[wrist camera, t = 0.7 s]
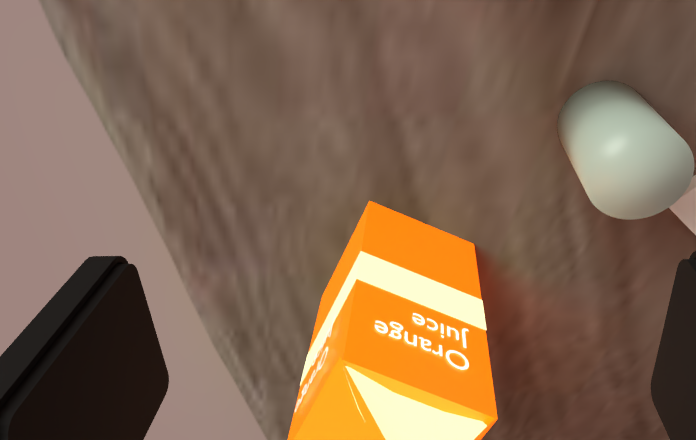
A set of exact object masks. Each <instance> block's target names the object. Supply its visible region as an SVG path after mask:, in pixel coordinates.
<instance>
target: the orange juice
mask: <svg viewBox="0 0 696 440" xmlns="http://www.w3.org/2000/svg"><path fill="white" fill-rule="evenodd" d="M486 330H487V329H486V322H485V314H484V307H483V300H481V292H480V285H479V278H478V270H477V263H476V255H475V248H474V244H473V243H470V242H468V241H465V240H463V239H461V238H458V237H456V236H453V235H451V234H449V233H446V232H444V231H441V230H439V229H436V228H434V227H432V226H429V225H427V224H424V223H422V222H420V221H417V220H415V219H412V218H410V217H408V216H405V215H403V214H400V213H398V212H395V211H393V210H391V209H388V208H386V207H383V206H381V205H379V204H376V203H374V202H371V201H369V203H368V205H367V207H366V209H365V211H364V213H363V215H362V217H361V219H360V221H359V223H358V225H357V227H356V229H355V231H354V233H353V235H352V237H351V239H350V241H349V243H348V245H347V247H346V249H345V251H344V253H343V255H342V257H341V259H340V261H339V263H338V265H337V268H336V270H335V272H334V274H333V276H332V278H331V280H330V282H329V284H328V286H327V288H326V290H325V292H324V294H323V296H322V299H321V303H320V307H319V311H318V315H317V320H316V324H315V328H314V332H313V336H312V340H311V345H310V349H309V353H308V355H307V358H306V362H305V366H304V371H303V375H302V379H301V383H300V390H299V394H298V399H297V403H296V407H295V411H294V415H293V419H292V423H291V428H290V432H289V436H288V440H481V439H482V437H483V436H484V435H485V434H486V433H487V431H488V430H489V429H490V428H491V427H492V425H493V424H494V423H495V422H496V420H497V419H498V418H497V411H496V403H495V396H494V388H493V381H492V374H491V366H490V359H489V351H488V344H487V337H486Z"/></svg>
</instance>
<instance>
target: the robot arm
mask: <svg viewBox="0 0 696 440" xmlns="http://www.w3.org/2000/svg"><path fill="white" fill-rule="evenodd" d="M168 382H169V376H168V371H167V368H166V365H165V361H164V358H163V355H162V351H161V348H160V344H159V341H158V338H157V334H156V331H155V328H154V324H153V321H152V318H151V314H150V311H149V308H148V304H147V301H146V297H145V294H144V291H143V287H142V284H141V281H140V277H139V274H138V271H137V268H136V267H135V266H134V265H133V264H128V261H127V260H126V259H125V258H124V257H122V256H93V257H89V258H88V259H87V260H85V261H84V263H83V264H82V265H81V266H80V267H79V268H78V270H77V271H76V272H75V273H74V274H73V275H72V276H71V277H70V279H69V280H68V281H67V282H66V283H65V284H64V285H63V286H62V287H61V289H60V290H59V291H58V292H57V293H56V294H55V295H54V297H53V298H52V299H51V300H50V301H49V302H48V303H47V304H46V305H45V307H44V308H43V309H42V310H41V311H40V312H39V313H38V315H37V316H36V317H35V318H34V319H33V320H32V321H31V322H30V324H29V325H28V326H27V327H26V328H25V329H24V330H23V332H22V333H21V334H20V335H19V336H18V337H17V338H16V339H15V340H14V342H13V343H12V344H11V345H10V346H9V347H8V348H7V349H6V351H5V352H4V353H3V354H2V355H1V356H0V440H143V439H144V437H145V435H146V433H147V431H148V429H149V427H150V425H151V423H152V421H153V419H154V417H155V415H156V413H157V411H158V409H159V407H160V405H161V403H162V401H163V399H164V397H165V395H166V392H167V389H168ZM651 394H652V399H653V402H654V405H655V407H656V409H657V412H658V414H659V416H660V418H661V420H662V423H663V425H664V427H665V429H666V431H667V433H668V436H669V438H670V440H696V251H695V252H693V253H692V255H691V256H690V258H689V259H683V260H681V261H680V263H679V265H678V268H677V272H676V276H675V281H674V285H673V289H672V294H671V298H670V302H669V307H668V311H667V315H666V320H665V324H664V328H663V333H662V337H661V341H660V346H659V350H658V354H657V359H656V363H655V367H654V372H653V376H652V380H651Z"/></svg>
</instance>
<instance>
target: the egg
mask: <svg viewBox="0 0 696 440" xmlns="http://www.w3.org/2000/svg"><path fill="white" fill-rule="evenodd" d="M557 133H558V137H559V140H560V142H561V144H562V146H563V148H564V150H565V152H566V154H567V156H568V158H569V160H570V162H571V164H572V166H573V167H574V169H575V171H576V173H577V175H578V177H579V179H580V181H581V183H582V185H583V187H584V189H585V191H586V193H587V195H588V197H589V199H590V200H591V202H592V203H593V204H594V206H595V207H596V208H598V209H599V210H600V211H601V212H603V213H605V214H607V215H609V216H611V217H615V218H619V219H628V220H632V219H641V218H646V217H650V216H653V215H655V214H658V213H660V212H662V211H664V210H665V209H667V208H669V207H670V206H671V205H673V204H674V203H675V202H676V201H677V200H678V199H680V197H681V196H682V195H683V194H684V193H685V191H686V190H687V188H688V186H689V184H690V182H691V180H692V177H693V173H694V157H693V154H692V151H691V149H690V147H689V146H688V144H687V143H686V142H685V141H684V140H683V139H682V138H681V137H680V136H679V135H678V133H677V132H676V131H675V130H674V129H673V128H672V127H671V126H670V125H669V124H668V123H667V122H666V121H665V120H664V119H663V118H662V117H661V116H660V115H659V114H658V113H657V112H656V111H655V110H654V109H653V108H652V107H651V106H650V105H649V104H648V103H647V102H646V101H645V100H644V99H643V98H642V97H641V96H640V95H639V94H638V93H637V92H636V91H635V90H634V89H633V88H632V87H630V86H628V85H626V84H624V83H621V82H616V81H600V82H595V83H592V84H589V85H587V86H585V87H583V88H581V89H580V90H578V91H577V92H575V93H574V94H573V95H572V96H571V97H570V98H569V99H568V100H567V101H566V103H565V104H564V106H563V107H562V109H561V111H560V114H559V117H558V121H557Z"/></svg>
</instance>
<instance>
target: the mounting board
mask: <svg viewBox="0 0 696 440" xmlns="http://www.w3.org/2000/svg"><path fill="white" fill-rule="evenodd" d="M669 208H670V209H671V211H672V212H673V213H674V214H675V215H676V216H677V217H678V218H679V219H680V220H681V221H682V222H683V223H684V224H685V225H686V226H687V227H688V228H689V229H690V230H691V231H692V232H693V233H694V234H695V235H696V175H695V176H693V177H692V180H691V182H690V184H689V186H688V188H687V190H686V191H685V193H684V194H683V195H682V196H681V197H680V199H678V200H677V201H676V202H675V203H674V204H673V205H671V206H670V207H669Z"/></svg>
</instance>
